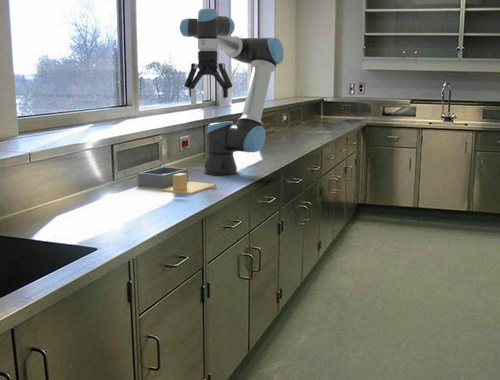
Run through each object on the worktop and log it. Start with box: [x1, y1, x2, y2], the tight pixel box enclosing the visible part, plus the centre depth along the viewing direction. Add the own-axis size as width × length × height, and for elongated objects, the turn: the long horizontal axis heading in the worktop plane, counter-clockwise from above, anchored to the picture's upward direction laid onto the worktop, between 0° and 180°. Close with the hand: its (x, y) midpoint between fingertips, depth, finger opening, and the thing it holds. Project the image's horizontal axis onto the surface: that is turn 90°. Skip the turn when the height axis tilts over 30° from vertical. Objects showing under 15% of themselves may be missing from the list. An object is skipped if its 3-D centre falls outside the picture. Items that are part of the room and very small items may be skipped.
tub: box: [137, 166, 189, 190], centre depth 237 cm, size 18×12×6 cm, turn 153°
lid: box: [161, 173, 217, 195], centre depth 227 cm, size 19×13×8 cm
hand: (208, 105), depth 231 cm, fingers open, 13 cm apart
